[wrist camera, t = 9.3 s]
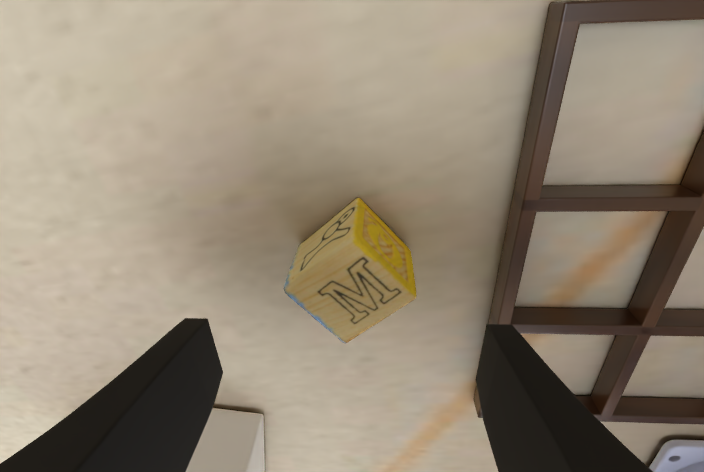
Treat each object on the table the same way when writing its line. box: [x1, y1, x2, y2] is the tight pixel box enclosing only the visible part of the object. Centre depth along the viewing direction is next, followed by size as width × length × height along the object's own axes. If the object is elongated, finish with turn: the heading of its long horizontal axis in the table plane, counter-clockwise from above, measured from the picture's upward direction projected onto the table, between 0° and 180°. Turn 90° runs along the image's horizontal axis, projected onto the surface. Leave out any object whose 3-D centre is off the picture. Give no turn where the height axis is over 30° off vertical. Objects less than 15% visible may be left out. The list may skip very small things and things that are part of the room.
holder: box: [474, 0, 704, 424], centre depth 14 cm, size 16×11×1 cm
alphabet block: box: [284, 198, 416, 343], centre depth 13 cm, size 3×3×3 cm
